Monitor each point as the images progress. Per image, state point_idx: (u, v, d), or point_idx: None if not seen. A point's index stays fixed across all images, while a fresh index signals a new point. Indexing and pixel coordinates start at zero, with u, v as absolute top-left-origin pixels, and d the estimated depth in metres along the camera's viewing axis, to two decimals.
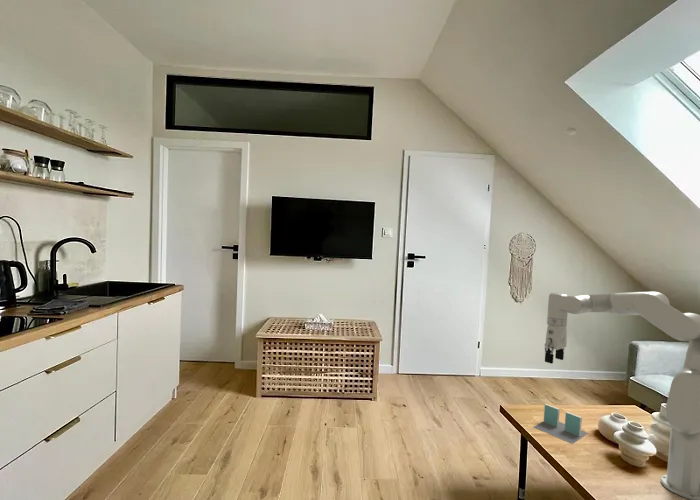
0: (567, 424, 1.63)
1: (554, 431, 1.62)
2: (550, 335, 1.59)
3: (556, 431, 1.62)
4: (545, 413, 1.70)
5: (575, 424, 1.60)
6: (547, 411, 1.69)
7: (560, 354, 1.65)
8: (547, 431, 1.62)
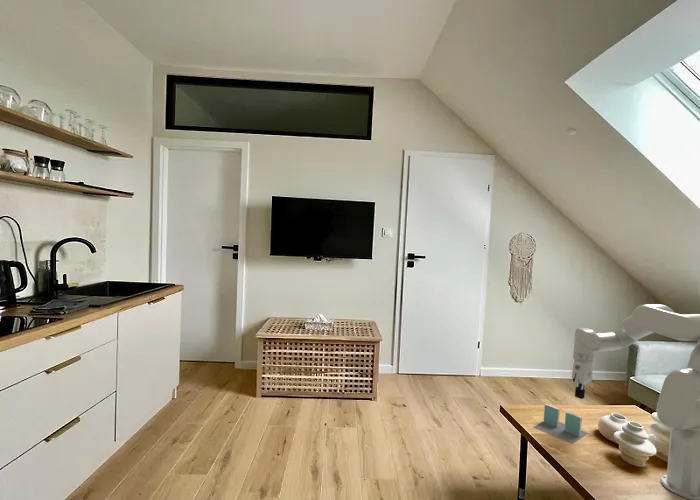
0: (567, 424, 1.63)
1: (554, 431, 1.62)
2: (577, 370, 1.62)
3: (556, 431, 1.62)
4: (545, 413, 1.70)
5: (575, 424, 1.60)
6: (547, 411, 1.69)
7: None
8: (547, 431, 1.62)
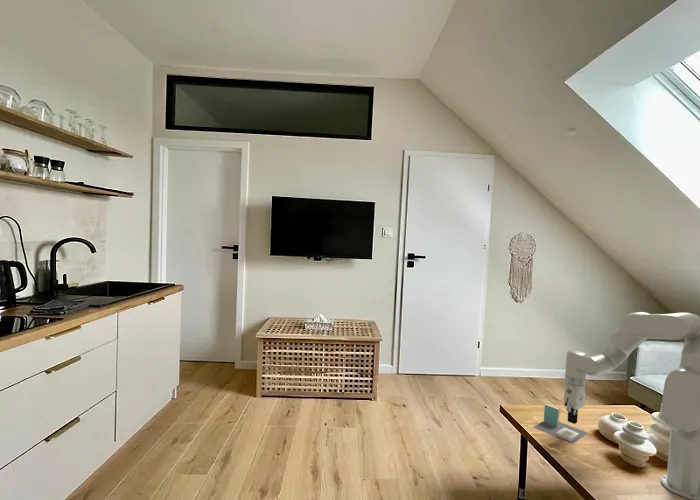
0: None
1: (554, 431, 1.62)
2: (568, 394, 1.57)
3: (556, 431, 1.62)
4: (545, 413, 1.70)
5: None
6: (547, 411, 1.69)
7: None
8: (547, 431, 1.62)
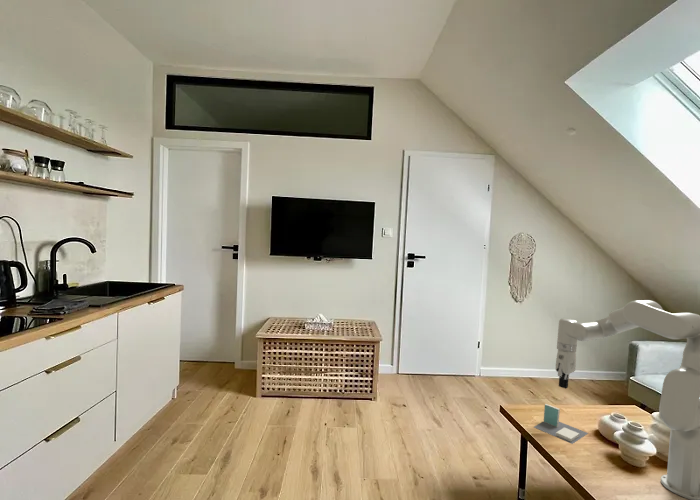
0: None
1: (554, 431, 1.62)
2: (560, 360, 1.64)
3: (556, 431, 1.62)
4: (545, 413, 1.70)
5: None
6: (547, 411, 1.69)
7: None
8: (547, 431, 1.62)
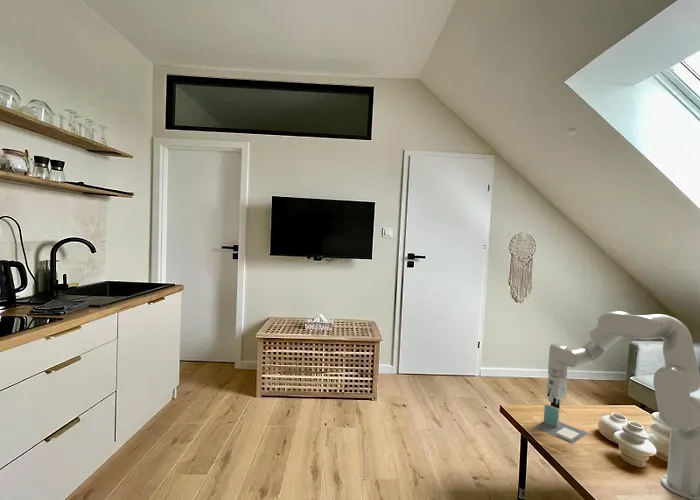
0: None
1: (554, 431, 1.62)
2: (551, 385, 1.67)
3: (556, 431, 1.62)
4: (545, 413, 1.70)
5: None
6: (547, 411, 1.69)
7: (556, 407, 1.70)
8: (547, 431, 1.62)
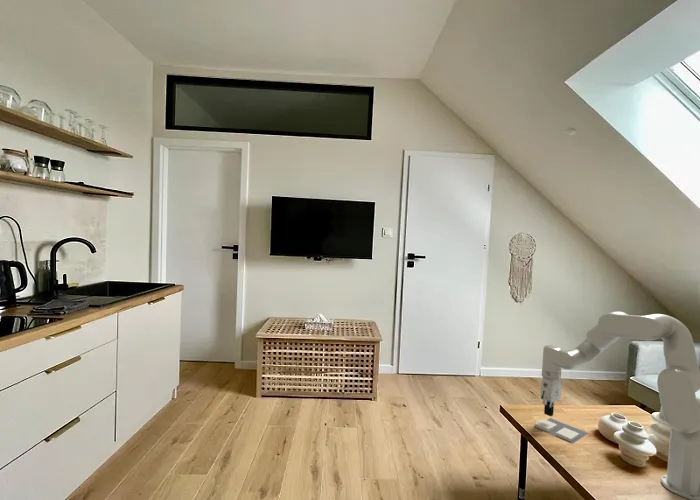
0: None
1: (554, 431, 1.62)
2: (545, 388, 1.63)
3: (556, 431, 1.62)
4: None
5: None
6: None
7: None
8: None
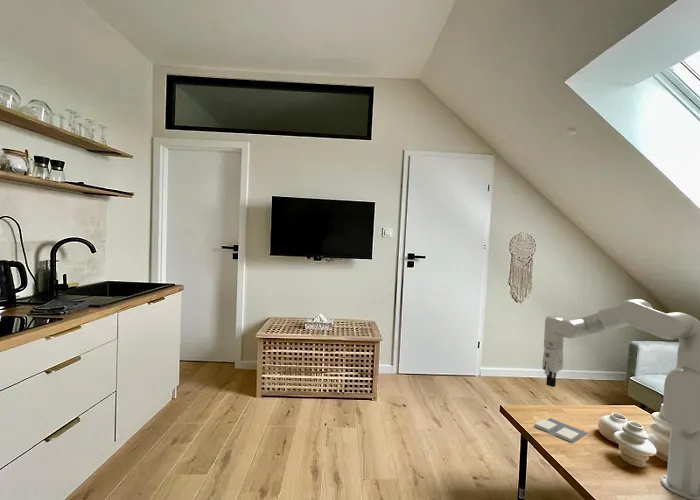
0: None
1: (554, 431, 1.62)
2: (547, 358, 1.63)
3: (556, 431, 1.62)
4: None
5: None
6: None
7: None
8: None
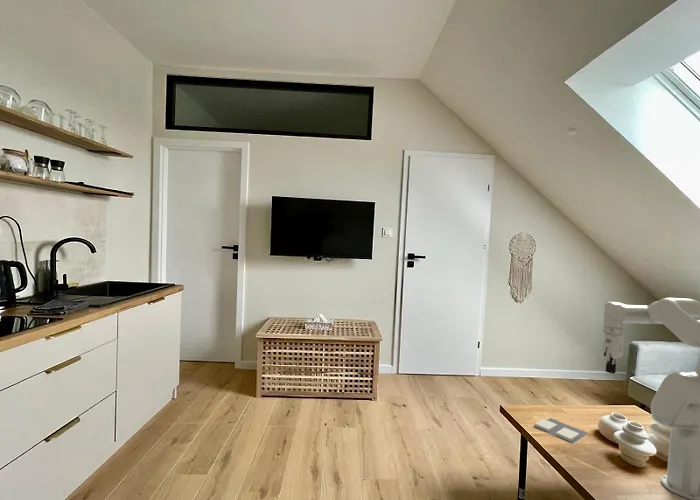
0: None
1: (554, 431, 1.62)
2: (608, 344, 1.59)
3: (556, 431, 1.62)
4: None
5: None
6: None
7: None
8: None
